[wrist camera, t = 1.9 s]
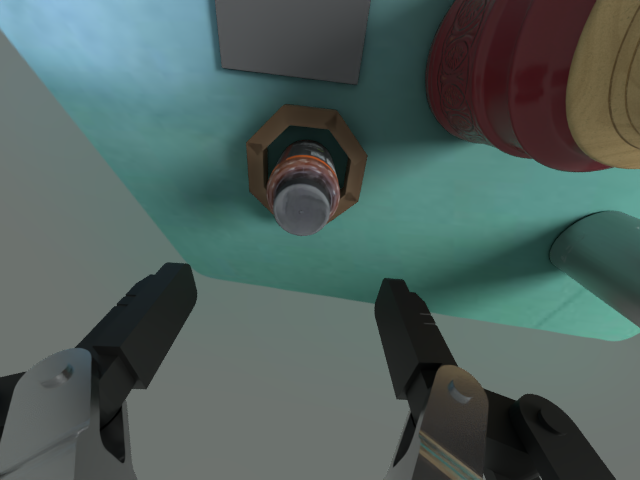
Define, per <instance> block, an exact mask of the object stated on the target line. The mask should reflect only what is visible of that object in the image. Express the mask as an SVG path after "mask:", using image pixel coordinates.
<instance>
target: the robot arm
mask: <svg viewBox="0 0 640 480" xmlns="http://www.w3.org/2000/svg"><path fill="white" fill-rule="evenodd" d="M550 260H551V262H552V263H553V265H555V266H556V267H557V268H559V269H560V270H562V271H563V272H564V273H566V274H567V275H568V276H570V277H571V278H572V279H574V280H575V281H577V282H578V283H579V284H580V285H582V286H583V287H585V288H586V289H587V290H589V291H590V292H591V293H593V294H594V295H595V296H597V297H598V298H600V299H601V300H602V301H604V302H605V303H606V304H608V305H609V306H611V307H612V308H613V309H615V310H616V311H617V312H619V313H620V314H621V315H623V316H624V317H626V318H627V319H628V320H630V321H631V322H632V323H634V324H635V325H637V326H638V327H639V328H640V219H638V218H635V217H632V216H630V215H627V214H625V213H622V212H619V211H605V212H600V213H596V214H593V215H591V216H588V217H586V218H584V219H582V220H580V221H578V222H576V223H575V224H573V225H572V226H570V227H569V228H568V229H566V230H565V231H564V232H563V233H562V234H561V235H560V236H559V237H558V238H557V239H556V241H555V242H554V244H553V245H552V248H551V250H550ZM196 300H197V289H196V286H195V281H194V277H193V274H192V270H191V267H190V265H189V264H184V263H165V264H164V265H163V266H162V267H161V268H160V270H159V271H158V272H157V273H156V274H155V275H149V276H147V277H146V278H144V279H143V280H141V281H139V282H138V283H136V284H135V286H133V287H132V288H131V290H130V291H129V292H128V293H127V294H126V296H125V297H123V298H122V299H121V300H120V301H119V302H118V303H117V306H114V307H113V308H112V309H111V311H110V312H109V313H108V314H107V315H106V316H105V317H104V318H103V319H102V320H101V321H100V322H99V323H98V324H97V325H96V326H95V327H94V328H93V329H92V331H91V332H90V333H89V334H88V335H87V336H86V337H85V338H84V339H83V340H82V341H81V342H80V343H79V344H78V345H77V346H76V347H75V348H72V349H67V350H63V351H60V352H57V353H55V354H53V355H51V356H48V357H47V358H45V359H43V360H42V361H40V362H38V363H37V364H36V365H34V366H33V367H32V368H30V369H29V370H28V371H27V372H22V373H18V374H13V375H9V376H5V377H0V480H137V477H136V474H135V472H134V470H133V465H132V458H131V446H130V434H129V423H128V410H127V402H126V400H125V399H126V397H127V396H128V394H129V393H130V391H131V389H147V387H148V385H149V384H150V382H151V380H152V379H153V377H154V375H155V373H156V371H157V370H158V368H159V366H160V365H161V363H162V361H163V360H164V358H165V356H166V354H167V353H168V351H169V349H170V347H171V346H172V344H173V342H174V340H175V339H176V337H177V335H178V333H179V332H180V330H181V328H182V327H183V325H184V323H185V321H186V320H187V318H188V316H189V314H190V313H191V311H192V309H193V307H194V306H195V303H196ZM375 318H376V322H377V326H378V330H379V334H380V337H381V341H382V345H383V349H384V353H385V357H386V360H387V364H388V368H389V372H390V376H391V380H392V384H393V387H394V391H395V395H396V398H397V399H403V400H408V403H409V406H410V410H409V413H408V415H407V418H406V421H405V424H404V426H403V429H402V432H401V435H400V438H399V441H398V444H397V446H396V450H395V452H394V455H393V458H392V461H391V464H390V467H389V469H388V471H387V474H386V476H385V477H384V479H383V480H483V473H484V475H485V478H486V480H541V479H540V478H539V476H541V478H542V480H616V479H615V477H614V476H613V475H612V473H611V472H610V471H609V469H608V468H607V467H606V465H605V464H604V463H603V461H602V460H601V459H600V457H599V456H598V454H597V453H596V452H595V450H594V449H593V447H592V446H591V445H590V443H589V442H588V441H587V439H586V438H585V437H584V435H583V434H582V433H581V431H580V430H579V428H578V427H577V426H576V424H575V423H574V422H573V421H572V420H571V418H570V417H569V416H568V415H567V414H566V413H564V412H563V411H562V410H561V409H560V408H559V407H558V406H556V405H555V404H553V403H552V402H550V401H549V400H547V399H545V398H543V397H541V396H538V395H534V394H525V395H523V396H522V397H521V398H519V399H518V400H517V401H516V400H513V399H510V398H507V397H505V396H502V395H499V394H496V393H494V392H491V391H489V390H486V389H484V388H483V387H482V386H481V384H480V383H479V382H478V381H477V380H476V379H475V378H474V377H473V376H472V375H471V374H470V373H468V372H467V371H465V370H464V369H462V368H460V367H458V365H457V364H456V362H455V360H454V358H453V356H452V354H451V352H450V350H449V348H448V346H447V344H446V343H445V340H444V339H443V337H442V335H441V333H440V331H439V329H438V327H437V326H436V325H435V321H434V319H433V317H432V316H431V313H430V311H429V309H428V307H427V306H426V304H425V302H424V301H423V300H422V299H421V298H420V297H419V296H418V295H417V294H416V293H414V292H409V290H408V288H407V285H406V283H405V281H404V280H403V279H391V278H384V279H383V281H382V284H381V287H380V290H379V293H378V296H377V299H376V302H375Z"/></svg>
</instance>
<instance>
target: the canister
mask: <svg viewBox="0 0 640 480" xmlns="http://www.w3.org/2000/svg"><path fill="white" fill-rule="evenodd" d="M425 87H426V95H427V100H428V104H429V107H430V109H431V111H432V113H433V115H434V117H435V118H436V120H437V121H438V122H439V123H440V124H441V125H442V127H443V128H444V129H445V130H447V131H448V132H449V133H450V134H452V135H453V136H455V137H457V138H460V139H462V140H465V141H468V142H472V143H479V144H486V145H489V146H492V147H496V148H497V149H499V150H501V151H502V152H504V153H507V154H509V155H512V156H516V157H520V158H528V159H534V160H535V161H537V162H538V163H540V164H542V165H544V166H547V167H549V168H552V169H555V170H560V171H566V172H591V171H599V170H604V169H609V168H613V167H616V168H624V169H640V0H455V1H454V3H453V4H452V5H451V7H450V8H449V10H448V11H447V13H446V15H445V16H444V18H443V20H442V22H441V24H440V26H439V28H438V30H437V32H436V34H435V37H434V39H433V42H432V45H431V48H430V52H429V56H428V60H427V66H426V75H425Z"/></svg>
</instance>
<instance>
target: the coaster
mask: <svg viewBox="0 0 640 480" xmlns="http://www.w3.org/2000/svg"><path fill="white" fill-rule="evenodd" d="M370 1H371V0H215V6H216V16H217V25H218V35H219V45H220V54H221V64H222V68H226V69H234V70H242V71H251V72H259V73H267V74H275V75H283V76H291V77H299V78H307V79H315V80H323V81H331V82H339V83H347V84H355V85H357V84H358V78H359V71H360V65H361V59H362V52H363V46H364V40H365V33H366V27H367V21H368V14H369V8H370Z"/></svg>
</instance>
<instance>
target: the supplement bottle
mask: <svg viewBox="0 0 640 480" xmlns="http://www.w3.org/2000/svg"><path fill="white" fill-rule="evenodd" d="M266 195H267V201H268V204H269V207H270V209H271V211H272V212H273V213H274V217H275V219H276V221H277V223H278V224H279V225H280V226H281V227H282V228H283V229H284V230H285V231H287V232H289V233H291V234H294V235H298V236H307V235H311V234H314V233H316V232H318V231H319V230H321V229H322V228H323V227H324V226H325V225H326V223H327V222H328V220H329V219H330V218H331V217H332V216H333V215H334V213H335V211H336V209H337V207H338V204H339V200H340V188H339V183H338V179H337V175H336V171H335V167H334V163H333V160H332V157H331V155H330V153H329V152H328V150H327V149H326V148H325V147H324V146H323V145H321V144H320V143H318V142H316V141H312V140H299V141H296V142H294V143H292V144H291V145H289V146H288V147H287V148H286V149H285V150H284V152H283V153H282V155H281V157H280V159H279V160H278V162H277V164H276V166H275V168H274V169H273V171H272V173H271V175H270V177H269V180H268V184H267V190H266Z"/></svg>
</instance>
